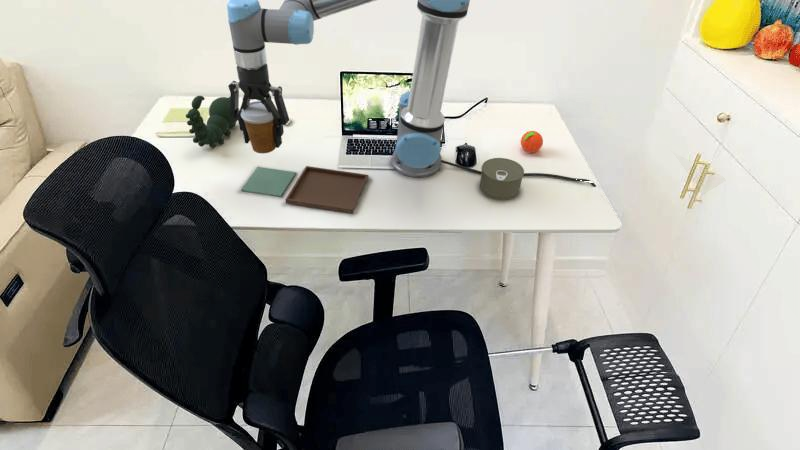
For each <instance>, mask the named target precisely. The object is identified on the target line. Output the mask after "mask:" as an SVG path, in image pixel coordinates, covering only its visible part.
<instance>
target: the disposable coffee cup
mask: <svg viewBox="0 0 800 450" xmlns="http://www.w3.org/2000/svg"><path fill="white" fill-rule="evenodd" d="M241 117H242V118H243V120H244V123H245V126H246V129H247V132H248V135H249V139H250V141H249V142H250V145H251V148H252V151H253V152H255V153H257V154H269V153H271V152H274V151H275V150H276V145H275V138H274V130H273V126H274V125H275V123H274V121H273V118H274V117H273V116H272V113H271V112H270V113H268V111H267V109H266V107H265V106H264V105H263V104H262V103H261V101H258V100H256V101H255V100H254V101H250V103H249V106H248V107H247V108H246V109H245V110H243V109H242V113H241Z"/></svg>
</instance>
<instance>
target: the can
mask: <svg viewBox="0 0 800 450" xmlns="http://www.w3.org/2000/svg"><path fill="white" fill-rule="evenodd" d="M481 171H482V173H481V174H480V181H479V190H480V192H481V193H482V194H483V195H484V196H486V197H487V198H489V199H492V200H496V201H510V200H513V199H515V198H517V197H518V195H519V194H520V190H521V187H522V181H523V177H524V176H523V175H524V173H525V169H524V167H523V166H522V165H521V164H520V163H519V162H518V161H515V160H513V159H510V158H505V157H493V158H489V159H487V160H485V161H484V162H483V163H482V165H481Z"/></svg>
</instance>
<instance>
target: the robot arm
mask: <svg viewBox="0 0 800 450" xmlns="http://www.w3.org/2000/svg"><path fill="white" fill-rule="evenodd" d="M375 1H377V0H284V1H283V2H282V4H281V6H280V7H279V9H277V8H276V9H273V8H271V9H269V8H262V7H261V4H260V1H259V0H229V1H228V2H227V4H226V10H227V18H228V19H227V22H228V25H229V31H230V35H231V36H230V37H231V41H232V48H233V53H234V60H235V61H234V62H235V65H236V72H237V73H236V74H237V78H238V81H236V80H232V81H231V82H230V83H229V84H228V86H227V87H228V89H229V93H230V96H231V98H230V117H231V118H236V119H237V123H238V127H239V131H240V132H242V134H243V140H244V144H249V142H250V139H249V135H248V132H247V129H246V126H245V123H244V120H243V118H242V117H241V113H242V109H243V110H245V109H246V108H247V107H248V106H249V103H250V102H251V101H255V100H256V101H261V103H262V104H263V105H264V106H265V107H266V109H267V111H268V113H270V112H271V113H272V116H273V117H274V118H273V121H274V123H275V125H274V126H273V130H274V138H275V145H276V148H277V149H279V148H280V147H281V145H282V144H283V139H282V136H283V135H284V132H285V131H284V126H287V125H286V124H287V122H288V121H289V118H290V117H289V114H288V110H287V106H286V104H285V103H286V102H285V100H284V97H283V87H282V86H280V85H279V86H278V87H276V86H273V85H272V84H271V82H270V74H269V66H268V60H267V53H266V44H265V43H267V44H268V43H271V44H273V43H274V44H288V45H290V44H291V45H295V46H296V45H297V46H298V45H309V44H311V43H312V41H313V39H314V33H315V26H314V25H315V24H314V23H315V22H316V21H317V20H321V19H323V18H327V17H330V16H333V15H335V14H338V13H341V12H344V11H348V10H351V9H354V8H358V7H360V6H363V5H366V4H369V3H372V2H375ZM470 1H471V0H417V4H416V8H417V10H418V11H419V13H420V14H421V20H420V26H419V33H418V40H417V44H416V45H417V46H416V51H415V52H416V53H415V58H414V65H413V70H412V71H413V72H412V78H411V82H410V83H411V84H410V90H409V91H407V92H404V93H402V94H401V95H400V97H399V102H398V106H399V107H398V108H399V109H398V125H397V133H396V136H397V137H396V143H395V148H394V150H393V153H392V156H391V166H392V168H393V169H394V170H395V171H396V172H397V173H398V174H401V175H403V176H406V177H411V178H426V177H429V176H430V177H431V176H433V175H435V174H436V173H437V172H439V171H440V169H441V168H442V164H445V165H448V166H451V167H455V168H457V169H461V170H465V171H468V172H472V173H476V174H479V175H481V173H482V170H478V169H474V168H471V167H467V166H463V165H461V164H457V163H454V162H451V161H447V160H443V159H442V155H441V153H442V152H441V151H442V145H441V140H442V135H443V130H444V125H445V120H446V118H445V115H444V114H443V113H442V106H443V105H442V104H443V100H444V96H445V92H446V86H447V81H448V76H449V72H450V68H451V67H450V66H451V61H452V57H453V51H454V47H455V42H456V37H457V32H458V28H459V22H460V21H462V20H463V19H464V18H466V17H467V16H468V11H469V7H470V6H469V5H470ZM314 21H315V22H314ZM240 90H241V91H242V93H243V97H242V101H241V105H240ZM270 92H271V94H270ZM272 96H273V100H274V102H273V100H272ZM239 105H240V107H239ZM276 148H275V149H276ZM523 177H547V178H548V177H549V178H556V179H560V180H561V179H562V180H565V181H571V182H581V183H582V182H583V183H585V182H584V181H591V180H590V179H587V178H575V177H570V176H564V175H559V174H554V173H541V172H524V175H523ZM576 179H577V180H576ZM580 180H582V181H580ZM587 184H590V185H591V186H592V187H594V188H596V187H597V185H596V184H595V182H593V183H589V182H587Z"/></svg>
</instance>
